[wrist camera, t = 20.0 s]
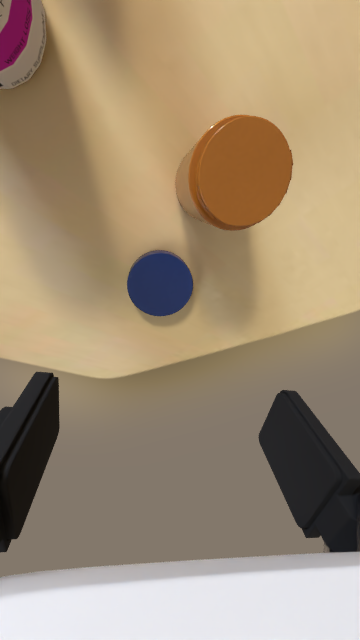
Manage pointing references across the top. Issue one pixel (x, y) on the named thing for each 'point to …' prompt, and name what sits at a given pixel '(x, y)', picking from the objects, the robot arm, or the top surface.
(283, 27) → the top surface
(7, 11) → the supplement can
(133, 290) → the lid
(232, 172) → the jar
